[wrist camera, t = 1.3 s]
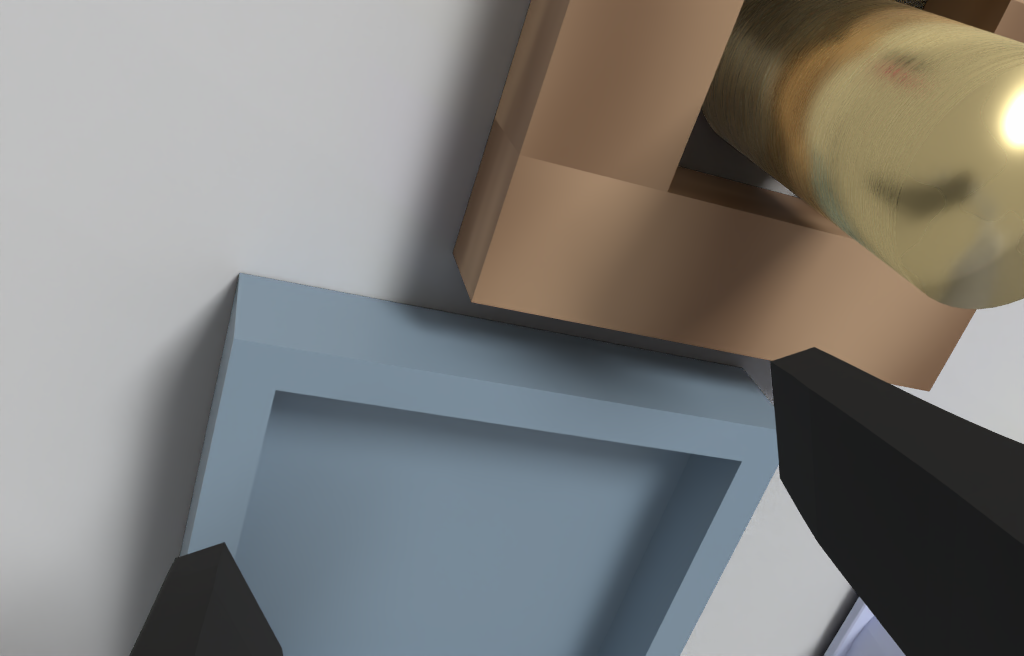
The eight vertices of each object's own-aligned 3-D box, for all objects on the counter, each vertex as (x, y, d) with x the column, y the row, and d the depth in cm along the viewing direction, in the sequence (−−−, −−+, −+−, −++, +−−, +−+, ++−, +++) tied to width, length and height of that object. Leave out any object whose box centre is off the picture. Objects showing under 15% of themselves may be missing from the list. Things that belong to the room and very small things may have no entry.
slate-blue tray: (742, 368, 25) (794, 432, 23) (579, 712, 30) (607, 796, 28) (239, 272, 21) (233, 338, 18) (150, 691, 26) (137, 787, 24)
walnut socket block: (1126, -128, 21) (1223, -120, 19) (875, 342, 26) (929, 391, 24) (640, -350, 17) (691, -372, 15) (452, 252, 22) (471, 301, 20)
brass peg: (894, 2, 21) (1186, 99, 14) (816, 170, 23) (1045, 328, 16) (740, -53, 20) (981, 25, 13) (670, 129, 22) (851, 283, 15)
